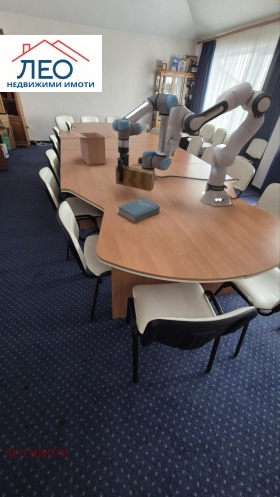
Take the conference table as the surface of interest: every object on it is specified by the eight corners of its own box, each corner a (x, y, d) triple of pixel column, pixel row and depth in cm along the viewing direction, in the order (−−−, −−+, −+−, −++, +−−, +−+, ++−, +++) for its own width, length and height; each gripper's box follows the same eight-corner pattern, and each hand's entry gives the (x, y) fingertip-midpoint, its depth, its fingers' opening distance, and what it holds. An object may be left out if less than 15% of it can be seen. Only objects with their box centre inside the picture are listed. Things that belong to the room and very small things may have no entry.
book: (142, 204, 158) (143, 197, 155) (159, 212, 149) (160, 205, 146) (118, 213, 145) (118, 206, 142) (134, 223, 136) (135, 216, 133)
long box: (115, 183, 164) (115, 166, 156) (119, 181, 168) (119, 164, 161) (150, 191, 155) (151, 174, 148) (153, 188, 160) (155, 171, 153)
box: (116, 165, 229) (116, 136, 213) (83, 168, 214) (80, 137, 198) (102, 154, 259) (101, 128, 243) (71, 156, 244) (68, 129, 228)
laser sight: (157, 166, 235) (158, 156, 229) (137, 164, 238) (137, 154, 232) (158, 164, 242) (159, 154, 236) (138, 161, 245) (139, 152, 239)
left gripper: (121, 149, 141) (121, 185, 155) (134, 144, 155) (133, 177, 169) (111, 148, 143) (112, 182, 157) (125, 143, 157) (124, 175, 171)
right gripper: (173, 138, 131) (169, 162, 139) (182, 133, 146) (178, 155, 154) (163, 136, 132) (160, 160, 141) (173, 132, 148) (170, 154, 156)
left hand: (123, 180), depth 163 cm, fingers closed on long box, 6 cm apart
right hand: (170, 157), depth 148 cm, fingers open, 8 cm apart
